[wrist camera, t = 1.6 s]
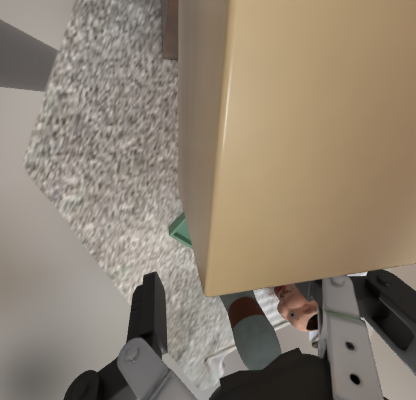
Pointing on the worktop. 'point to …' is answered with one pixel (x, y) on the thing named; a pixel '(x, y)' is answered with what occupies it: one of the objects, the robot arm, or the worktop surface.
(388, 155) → the beech stick
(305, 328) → the decorative planter
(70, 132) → the worktop surface
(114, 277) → the worktop surface
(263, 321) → the vodka
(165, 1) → the walnut stand
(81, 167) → the worktop surface
